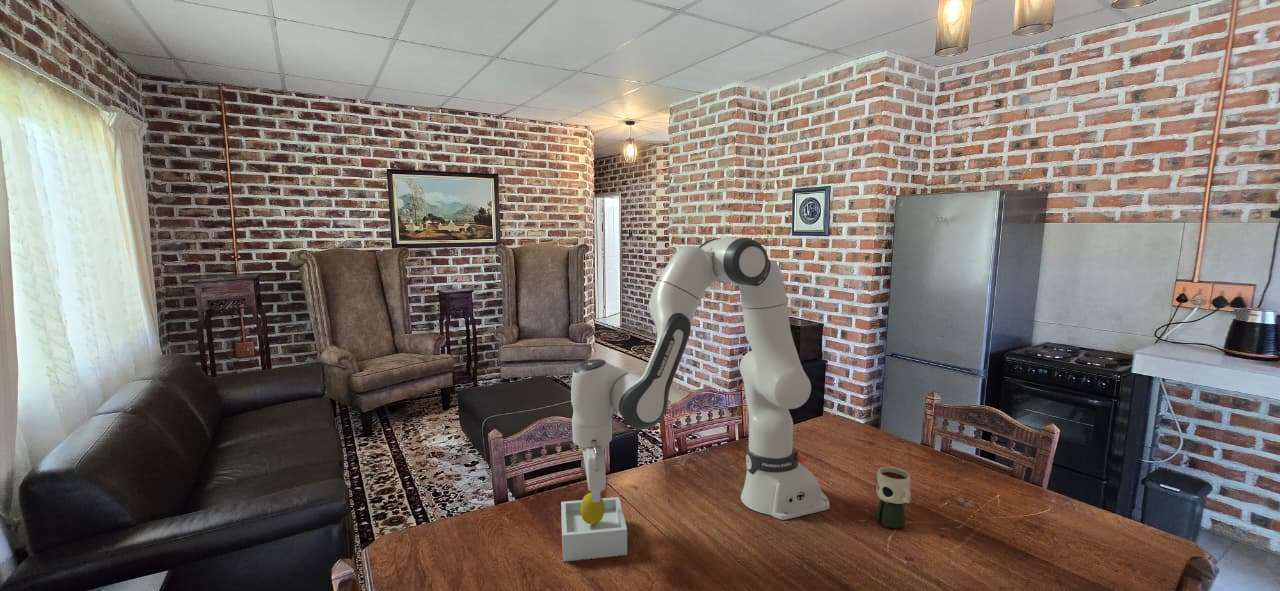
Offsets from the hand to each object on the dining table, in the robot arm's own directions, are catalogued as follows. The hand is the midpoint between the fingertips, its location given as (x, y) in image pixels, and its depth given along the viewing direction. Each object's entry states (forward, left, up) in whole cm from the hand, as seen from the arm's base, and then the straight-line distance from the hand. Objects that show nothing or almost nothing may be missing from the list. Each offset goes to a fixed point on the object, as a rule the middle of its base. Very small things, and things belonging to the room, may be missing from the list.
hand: (594, 489), depth 119 cm
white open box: (0, 0, -13) cm, 13 cm away
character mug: (-72, +6, -12) cm, 73 cm away
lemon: (0, 0, -9) cm, 9 cm away
